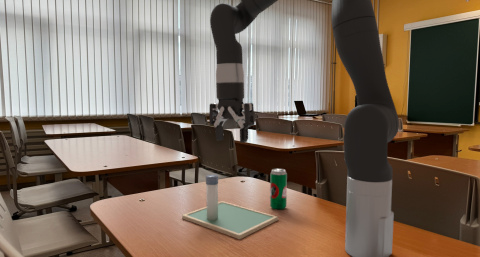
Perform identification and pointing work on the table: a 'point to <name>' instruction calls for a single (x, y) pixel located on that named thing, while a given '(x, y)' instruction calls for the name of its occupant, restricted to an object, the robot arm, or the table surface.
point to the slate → (232, 219)
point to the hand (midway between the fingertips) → (231, 141)
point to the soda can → (278, 189)
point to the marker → (212, 196)
